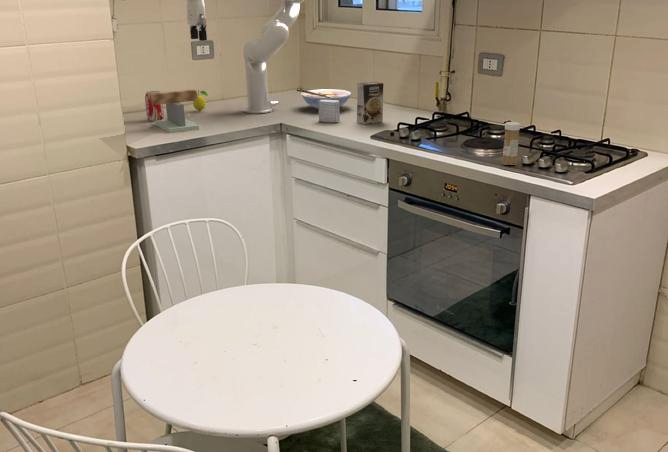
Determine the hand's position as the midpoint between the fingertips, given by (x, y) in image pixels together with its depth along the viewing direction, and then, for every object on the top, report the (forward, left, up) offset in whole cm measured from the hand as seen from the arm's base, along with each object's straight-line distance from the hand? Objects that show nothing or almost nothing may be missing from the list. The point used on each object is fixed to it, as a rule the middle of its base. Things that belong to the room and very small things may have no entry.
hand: (198, 39), depth 275 cm
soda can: (+21, -3, -32) cm, 39 cm away
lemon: (-2, -11, -32) cm, 34 cm away
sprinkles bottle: (-51, +131, -32) cm, 144 cm away
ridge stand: (+18, +15, -32) cm, 40 cm away
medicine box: (-39, +41, -33) cm, 65 cm away
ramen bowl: (-52, +17, -32) cm, 64 cm away
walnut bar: (+18, +15, -22) cm, 32 cm away
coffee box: (-52, +52, -32) cm, 80 cm away
